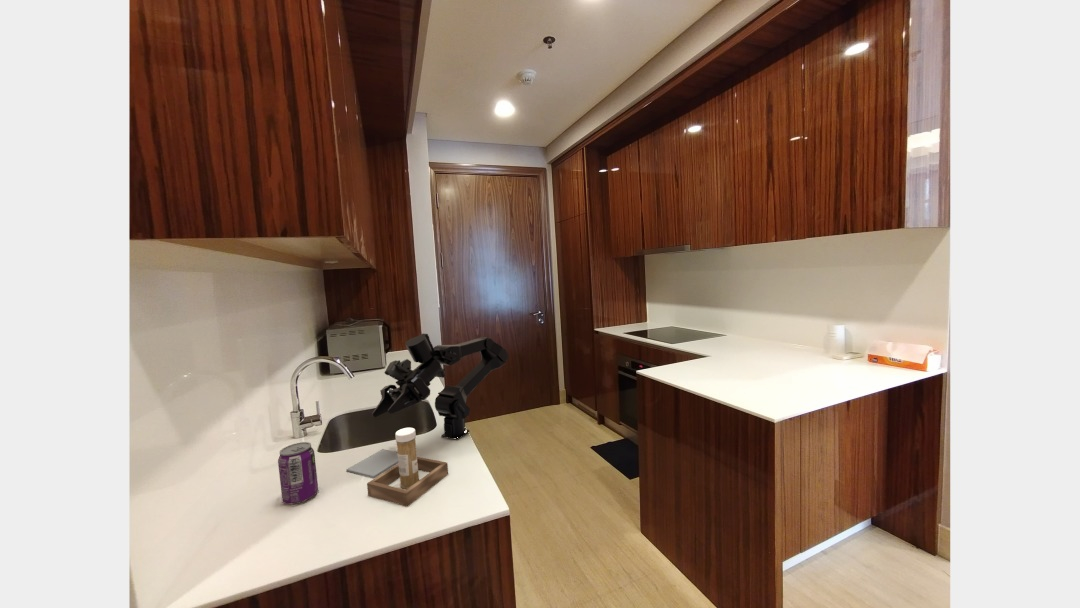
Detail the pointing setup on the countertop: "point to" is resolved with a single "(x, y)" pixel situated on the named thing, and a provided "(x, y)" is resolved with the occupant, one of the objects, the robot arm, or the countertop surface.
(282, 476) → the beverage can
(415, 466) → the sprinkles bottle
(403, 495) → the wooden frame
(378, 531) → the countertop surface
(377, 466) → the mat
